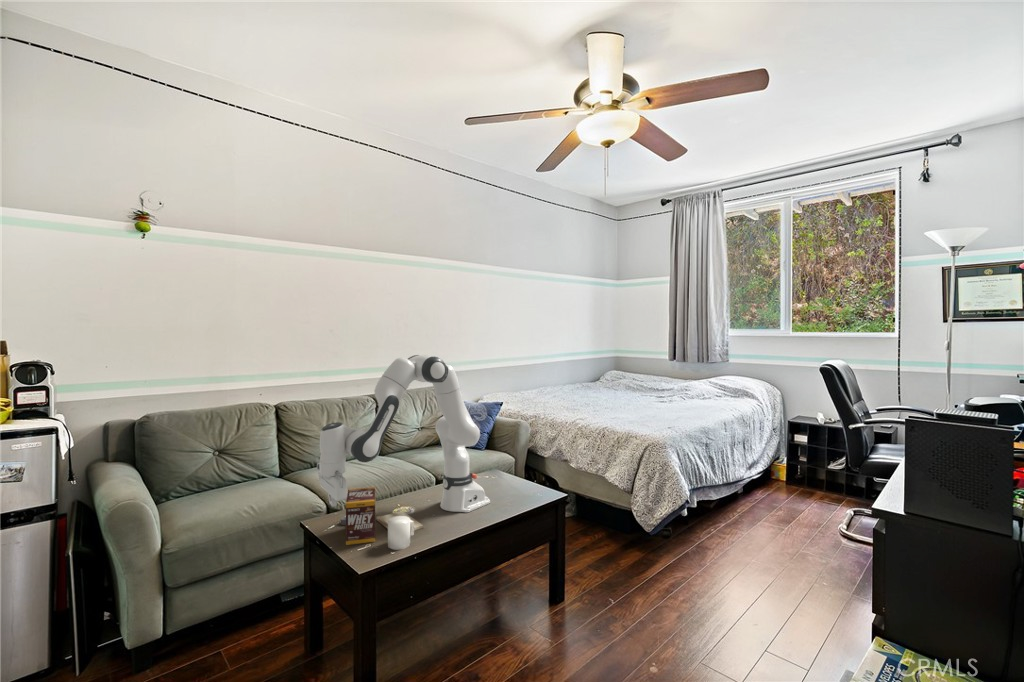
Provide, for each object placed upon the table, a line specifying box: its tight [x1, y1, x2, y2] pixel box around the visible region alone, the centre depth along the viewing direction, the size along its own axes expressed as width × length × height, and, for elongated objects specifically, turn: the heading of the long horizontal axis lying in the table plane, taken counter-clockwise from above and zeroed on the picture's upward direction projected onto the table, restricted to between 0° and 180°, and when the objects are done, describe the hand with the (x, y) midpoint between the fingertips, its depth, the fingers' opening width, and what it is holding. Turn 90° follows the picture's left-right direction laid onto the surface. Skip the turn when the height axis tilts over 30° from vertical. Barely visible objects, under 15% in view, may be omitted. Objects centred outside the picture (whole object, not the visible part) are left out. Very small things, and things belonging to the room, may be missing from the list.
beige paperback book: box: [376, 510, 424, 531], centre depth 191 cm, size 12×18×1 cm, turn 39°
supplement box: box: [345, 486, 376, 546], centre depth 180 cm, size 10×15×16 cm
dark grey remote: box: [340, 514, 346, 526], centre depth 197 cm, size 16×5×3 cm, turn 174°
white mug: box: [387, 516, 415, 551], centre depth 173 cm, size 9×8×9 cm
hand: (333, 505), depth 173 cm, fingers closed
